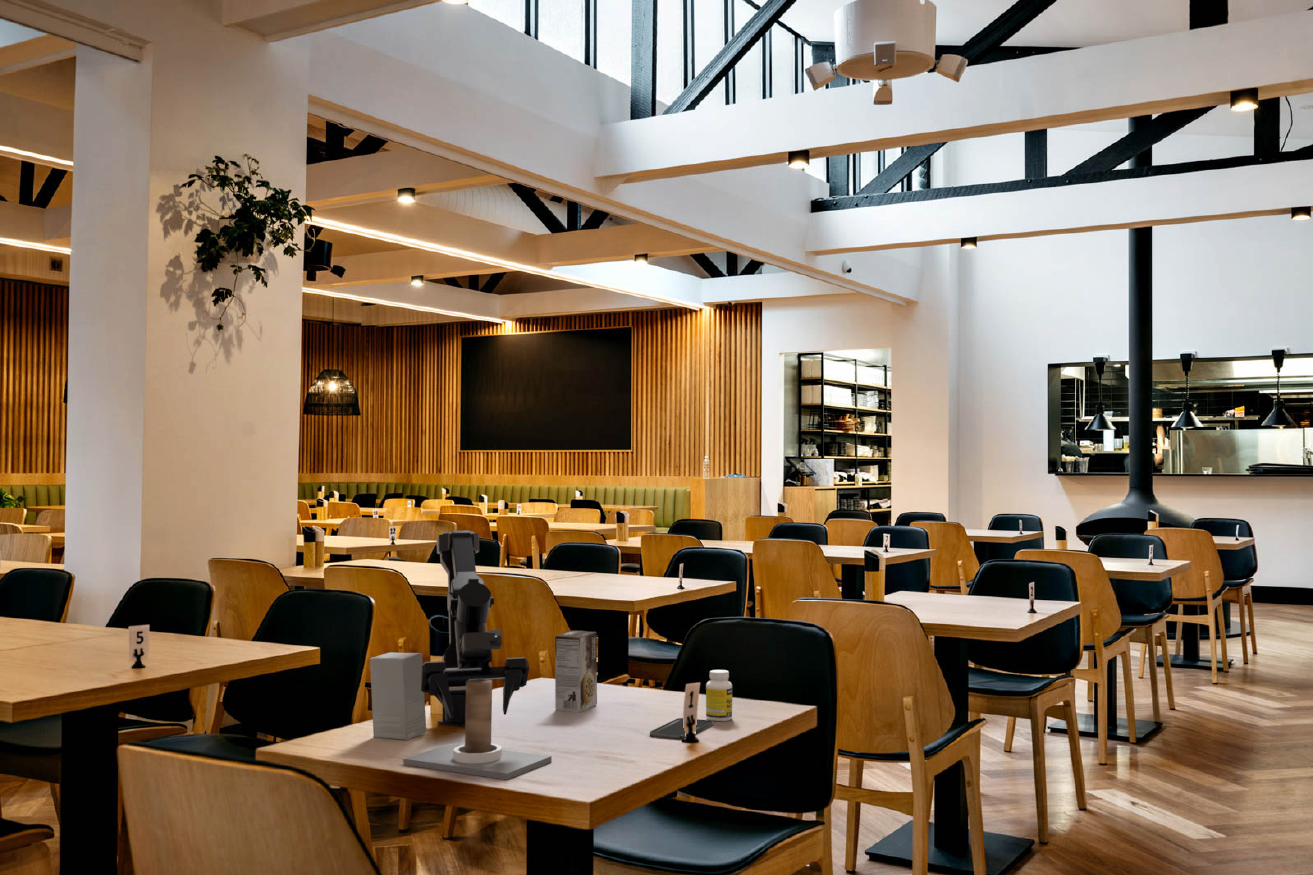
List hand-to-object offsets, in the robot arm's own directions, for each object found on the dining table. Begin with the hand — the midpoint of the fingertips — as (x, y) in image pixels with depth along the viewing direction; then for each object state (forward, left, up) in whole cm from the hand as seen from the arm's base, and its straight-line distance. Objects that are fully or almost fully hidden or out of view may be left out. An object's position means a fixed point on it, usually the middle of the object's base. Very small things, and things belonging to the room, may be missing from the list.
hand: (478, 714), depth 187 cm
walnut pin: (-1, +1, -7) cm, 8 cm away
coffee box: (-12, +50, -9) cm, 52 cm away
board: (-1, +1, -9) cm, 9 cm away
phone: (+19, +40, -9) cm, 45 cm away
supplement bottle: (+21, +53, -9) cm, 58 cm away
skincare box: (-28, +11, -9) cm, 31 cm away
